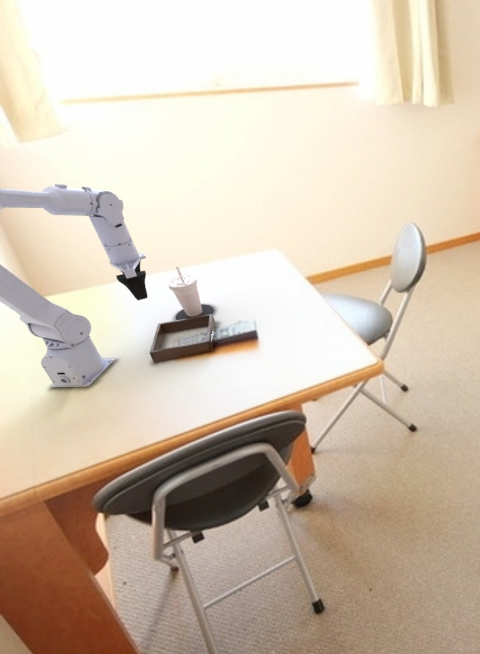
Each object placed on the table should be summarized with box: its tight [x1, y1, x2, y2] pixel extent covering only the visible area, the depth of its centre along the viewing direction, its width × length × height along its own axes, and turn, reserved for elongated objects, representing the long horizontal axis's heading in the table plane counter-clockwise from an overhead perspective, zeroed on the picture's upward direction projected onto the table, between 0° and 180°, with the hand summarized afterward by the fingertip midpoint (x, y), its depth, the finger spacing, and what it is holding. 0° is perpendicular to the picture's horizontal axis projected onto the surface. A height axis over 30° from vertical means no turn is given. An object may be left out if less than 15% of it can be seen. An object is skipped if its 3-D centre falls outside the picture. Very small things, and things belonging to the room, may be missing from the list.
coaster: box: [175, 303, 214, 320], centre depth 131 cm, size 9×9×1 cm
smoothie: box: [167, 266, 202, 317], centre depth 127 cm, size 6×6×14 cm
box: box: [149, 313, 217, 364], centre depth 120 cm, size 13×12×3 cm
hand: (140, 292), depth 120 cm, fingers open, 7 cm apart
